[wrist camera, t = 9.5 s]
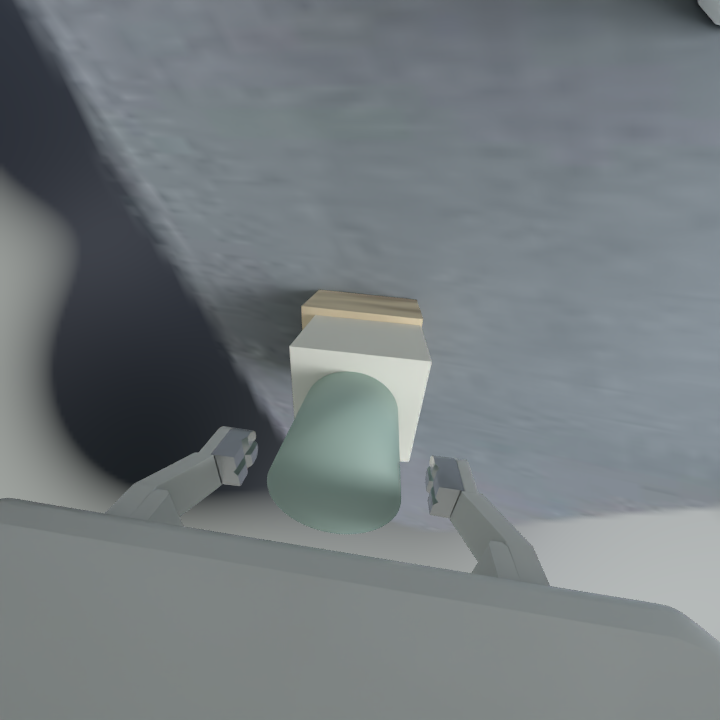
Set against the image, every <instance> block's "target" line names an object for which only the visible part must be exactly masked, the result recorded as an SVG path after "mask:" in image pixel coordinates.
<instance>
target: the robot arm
mask: <svg viewBox="0 0 720 720" xmlns="http://www.w3.org/2000/svg"><path fill="white" fill-rule="evenodd" d="M255 438H256V433H255V431H250V430H244V429H238V428H231V427H225V426H222V427H221V428H219V429H218V430H217V432H216V433H215V434H214V435H213V436H212V437H211V439H210V440H209V441H208V442H207V443H206V445H205V446H204V447H203V448H202V449H201V450H200V452H199V453H193V454H191V455H189V456H187V457H185V458H183V459H182V460H180V461H178V462H176V463H174V464H172V465H170V466H168V467H166V468H164V469H162V470H160V471H158V472H156V473H154V474H152V475H151V476H148V477H147V478H145V479H143V480H141V481H139V482H137V483H135V484H133V485H132V486H131V487H130V488H129V490H127V491H126V493H124V494H123V495H122V496H121V497H120V499H119V500H117V501H116V503H114V505H112V506H111V507H110V509H109V510H108V511H107V512H105V513H98V512H92V511H86V510H80V509H74V508H68V507H62V506H56V505H50V504H44V503H37V502H32V501H26V500H20V499H13V498H2V499H0V720H720V642H719V641H718V640H717V639H715V638H714V637H713V636H712V635H710V634H709V633H708V632H707V631H705V630H704V629H703V628H702V627H701V626H699V625H698V624H697V623H695V622H694V621H693V620H691V619H690V618H689V617H687V616H686V615H685V614H683V613H682V612H680V611H678V610H676V609H674V608H672V607H669V606H666V605H661V604H656V603H650V602H644V601H638V600H632V599H626V598H620V597H613V596H607V595H601V594H595V593H588V592H583V591H577V590H570V589H564V588H558V587H552V586H550V585H549V582H548V580H547V578H546V576H545V573H544V571H543V569H542V566H541V564H540V562H539V560H538V557H537V555H536V553H535V551H534V548H533V546H532V545H531V544H530V543H529V542H528V541H527V540H526V539H525V538H524V537H523V536H522V535H521V534H520V533H519V532H518V531H517V530H516V529H515V528H514V526H513V525H512V524H511V523H510V522H509V521H508V520H507V519H506V518H505V517H504V516H503V515H502V514H501V513H500V512H499V511H498V510H497V509H496V508H495V507H494V506H493V505H492V504H491V503H490V502H489V501H488V500H487V499H486V498H485V497H484V495H483V494H479V493H478V490H477V487H476V484H475V481H474V478H473V475H472V472H471V469H470V466H469V463H468V461H467V460H464V459H456V458H455V459H454V458H449V457H441V456H433V455H432V456H431V458H430V467H428V468H427V472H426V490H427V492H428V493H429V497H428V506H429V513H430V515H434V516H439V517H445V518H450V521H451V522H452V524H453V525H454V527H455V528H456V530H457V531H458V533H459V534H460V536H461V537H462V539H463V540H464V542H465V543H466V544H467V546H468V548H469V549H470V551H471V552H472V554H473V555H474V557H475V558H476V560H477V561H478V563H477V565H476V567H475V568H474V570H473V571H472V573H466V572H460V571H453V570H448V569H442V568H435V567H429V566H423V565H417V564H411V563H405V562H399V561H392V560H386V559H380V558H374V557H368V556H362V555H356V554H350V553H344V552H337V551H331V550H325V549H319V548H313V547H307V546H300V545H294V544H288V543H282V542H276V541H270V540H264V539H257V538H251V537H245V536H239V535H233V534H227V533H221V532H214V531H209V530H202V529H196V528H190V527H184V525H183V523H182V521H181V519H180V516H182V515H183V514H184V513H186V512H187V511H188V510H189V509H191V508H192V507H193V506H195V505H196V504H197V503H199V502H200V501H201V500H203V499H204V498H205V497H206V496H208V495H209V494H210V493H212V492H213V491H214V490H216V489H217V488H218V487H219V486H221V484H227V485H236V486H240V485H241V484H242V482H243V480H244V479H245V477H246V475H247V474H248V472H247V468H248V467H250V466H251V465H253V463H254V461H255V460H256V456H257V453H258V445H257V443H256V442H255V441H254V440H255Z"/></svg>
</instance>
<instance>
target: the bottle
mask: <svg viewBox="0 0 720 720" xmlns="http://www.w3.org/2000/svg"><path fill="white" fill-rule="evenodd" d="M698 4H699V5H700V7H701V8H702V9H703V10H704V11H705V13H706V14H707V15H708V16H709V17H710V18H711V20H712V21H713V22H714V23H715V24H717V25H720V0H698Z"/></svg>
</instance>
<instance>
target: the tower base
mask: <svg viewBox="0 0 720 720" xmlns="http://www.w3.org/2000/svg"><path fill="white" fill-rule="evenodd" d="M301 310H302V330H303V329H304V328H305V327H306V326H307V324H308V323H309V322H310V321H311V320H312V318H313V317H314V316H315V315H322V316H332V317H342V318H351V319H361V320H371V321H381V322H391V323H401V324H411V325H421V327H422V323H423V317H422V314H421V311H420V308H419V306H418V303H417V300H414V299H404V298H395V297H385V296H376V295H366V294H357V293H347V292H337V291H328V290H318V291H317V292H316V293H315V294H314V295H313V296H312V297H311V298H310V299H308V300H307V301H306V302H305V303H304V304H303V305H302V306H301Z"/></svg>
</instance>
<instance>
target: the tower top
mask: <svg viewBox="0 0 720 720" xmlns="http://www.w3.org/2000/svg"><path fill="white" fill-rule="evenodd" d="M289 348H290V362H291V377H292V391H293V405H294V419H295V417H296V415H297V413H298V411H299V409H300V407H301V405H302V403H303V401H304V399H305V397H306V395H307V393H308V391H309V390H310V388H311V387H312V386H313V384H314V383H316V382H317V381H318V380H319V379H321V378H322V377H324V376H327V375H329V374H332V373H337V372H346V371H348V372H358V373H362V374H366V375H368V376H371V377H373V378H375V379H377V380H378V381H380V382H381V383H382V384H384V385H385V386H386V387H387V388H388V389H389V390H390V392H391V393H392V394H393V396H394V398H395V400H396V403H397V406H398V422H399V453H400V461H403V462H409V459H410V455H411V450H412V446H413V442H414V437H415V433H416V429H417V424H418V420H419V415H420V411H421V407H422V402H423V398H424V394H425V389H426V385H427V380H428V376H429V372H430V367H431V363H432V361H431V357H430V354H429V351H428V347H427V344H426V341H425V337H424V334H423V331H422V327H421V325H411V324H401V323H391V322H381V321H371V320H361V319H351V318H342V317H332V316H322V315H315V316H314V317H313V318H312V320H311V321H310V322H309V323H308V324H307V326H306V327H305V328H304V329H303V330H302V332H301V333H300V334H299V335H298V336H297V338H296V339H295V340H294V341H293V342H292V344H291V345H290V346H289Z"/></svg>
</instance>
